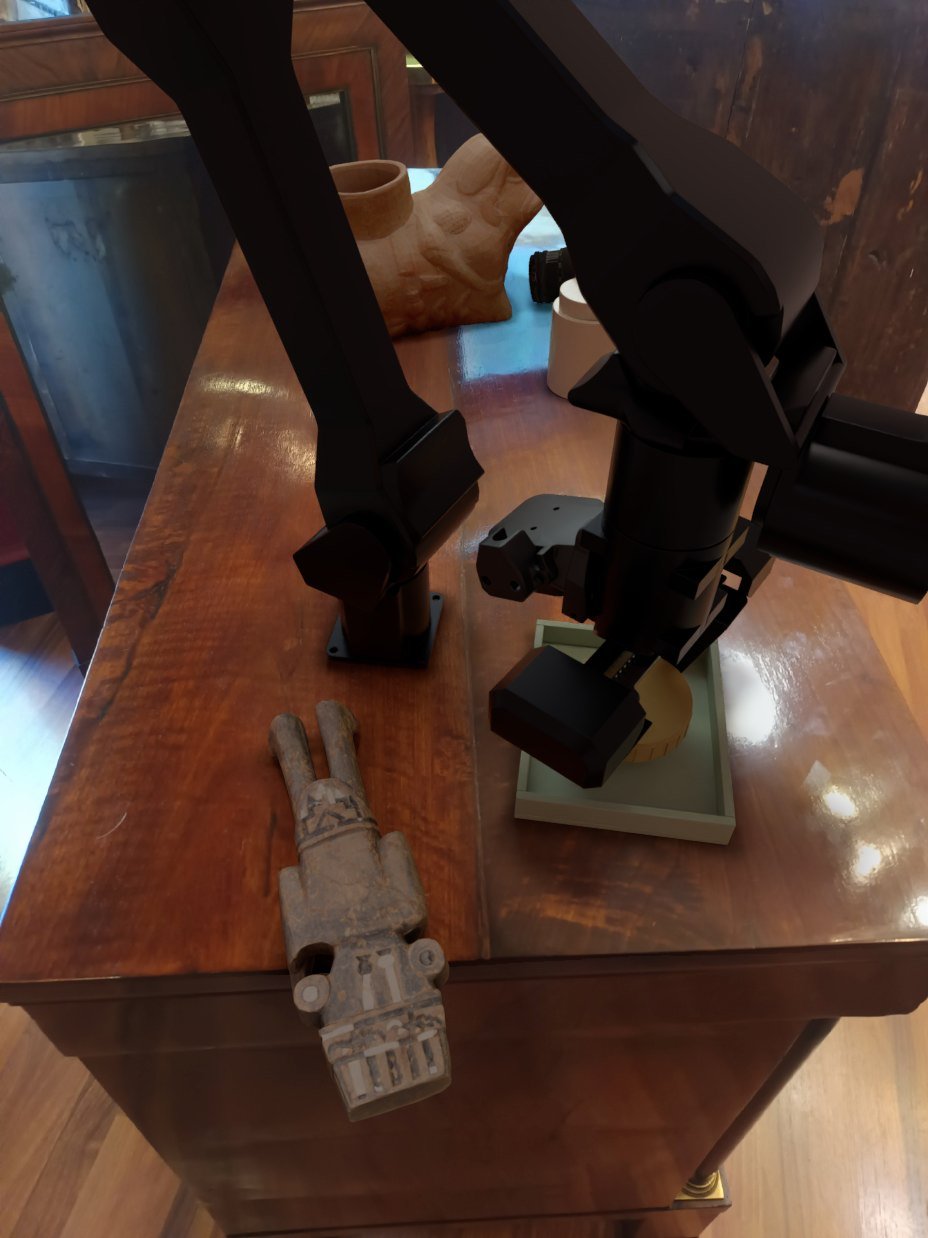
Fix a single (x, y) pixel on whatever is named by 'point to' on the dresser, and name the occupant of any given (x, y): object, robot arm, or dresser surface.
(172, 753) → the dresser surface
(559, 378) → the jar
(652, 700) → the lid
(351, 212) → the ceramic vessel
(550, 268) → the camera
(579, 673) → the robot arm
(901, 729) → the dresser surface
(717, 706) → the tray
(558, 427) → the dresser surface
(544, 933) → the dresser surface
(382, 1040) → the figurine
